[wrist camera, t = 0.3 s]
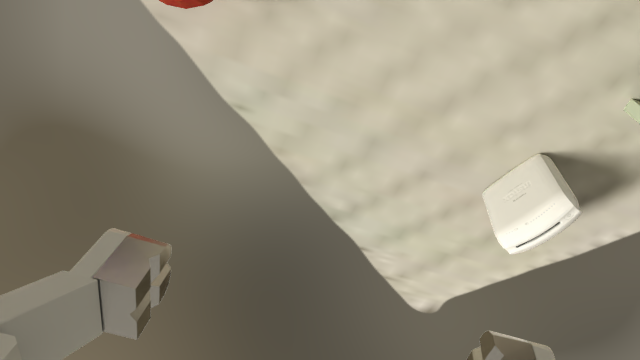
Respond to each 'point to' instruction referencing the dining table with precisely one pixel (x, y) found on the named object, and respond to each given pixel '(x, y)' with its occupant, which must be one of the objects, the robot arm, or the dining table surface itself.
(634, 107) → the stand
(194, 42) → the dining table surface
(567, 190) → the photo printer
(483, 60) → the dining table surface
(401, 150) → the dining table surface
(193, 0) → the apple
